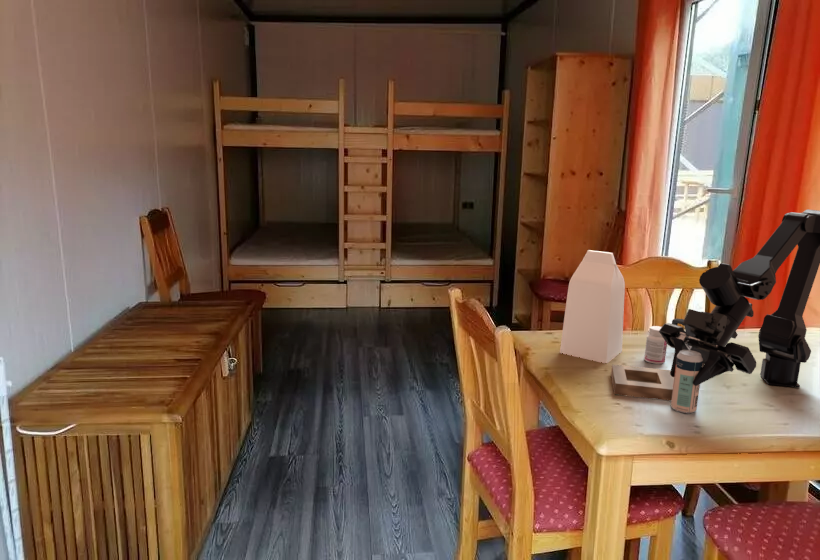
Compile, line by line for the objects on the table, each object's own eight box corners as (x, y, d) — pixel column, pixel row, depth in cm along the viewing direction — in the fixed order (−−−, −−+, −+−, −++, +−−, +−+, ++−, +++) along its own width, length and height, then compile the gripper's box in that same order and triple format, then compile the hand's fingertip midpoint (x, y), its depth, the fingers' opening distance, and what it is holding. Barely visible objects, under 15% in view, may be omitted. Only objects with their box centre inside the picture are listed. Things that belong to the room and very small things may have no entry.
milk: (559, 353, 157) (567, 251, 152) (577, 341, 166) (585, 246, 161) (606, 363, 150) (616, 258, 145) (621, 351, 160) (632, 251, 154)
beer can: (689, 404, 127) (696, 349, 125) (700, 414, 123) (708, 357, 120) (666, 404, 127) (673, 349, 125) (676, 414, 123) (684, 357, 120)
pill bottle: (666, 365, 150) (670, 331, 148) (645, 363, 151) (649, 330, 149) (662, 358, 155) (666, 326, 153) (642, 356, 156) (646, 324, 154)
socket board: (680, 381, 140) (682, 371, 139) (690, 403, 128) (691, 391, 128) (610, 374, 143) (611, 364, 143) (614, 394, 132) (615, 383, 131)
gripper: (670, 285, 130) (627, 343, 127) (756, 306, 114) (710, 373, 111) (689, 317, 135) (650, 373, 132) (774, 341, 120) (731, 405, 117)
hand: (682, 380), depth 123 cm, fingers closed on beer can, 5 cm apart
